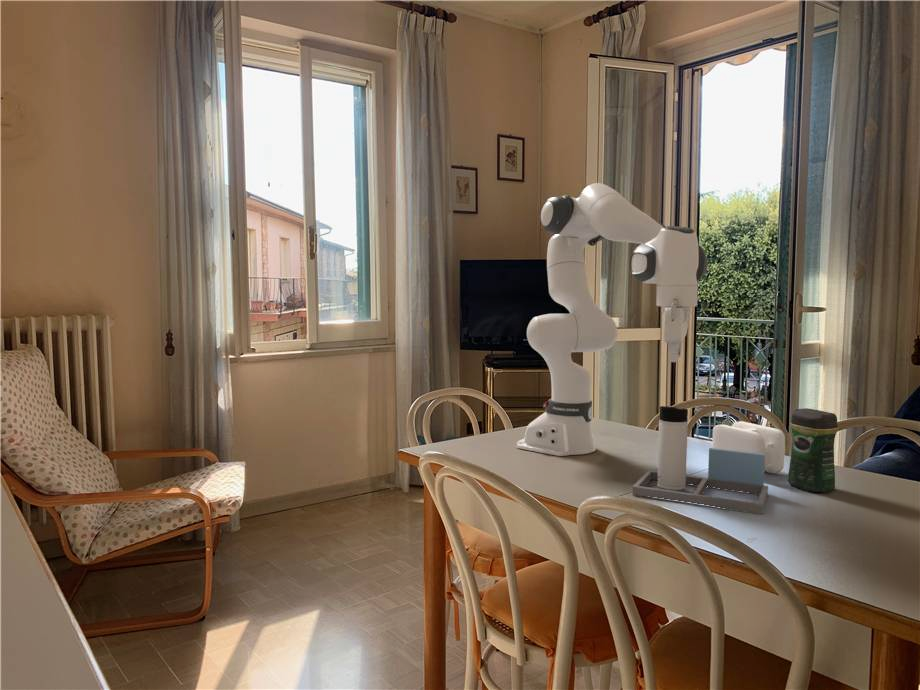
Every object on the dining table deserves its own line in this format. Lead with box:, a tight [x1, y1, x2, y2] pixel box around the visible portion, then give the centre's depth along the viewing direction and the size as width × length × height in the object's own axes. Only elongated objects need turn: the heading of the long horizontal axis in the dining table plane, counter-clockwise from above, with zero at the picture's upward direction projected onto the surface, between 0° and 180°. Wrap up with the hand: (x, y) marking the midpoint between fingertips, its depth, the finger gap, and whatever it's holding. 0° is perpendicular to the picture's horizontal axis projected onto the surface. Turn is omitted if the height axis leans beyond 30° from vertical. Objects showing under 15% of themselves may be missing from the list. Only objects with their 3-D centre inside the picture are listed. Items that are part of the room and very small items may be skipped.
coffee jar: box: [787, 407, 839, 493], centre depth 161 cm, size 10×8×19 cm
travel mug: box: [656, 405, 689, 493], centre depth 159 cm, size 6×7×20 cm
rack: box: [632, 447, 769, 515], centre depth 157 cm, size 27×16×9 cm, turn 62°
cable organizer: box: [711, 420, 786, 474], centre depth 176 cm, size 15×11×12 cm
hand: (675, 359), depth 157 cm, fingers open, 8 cm apart
